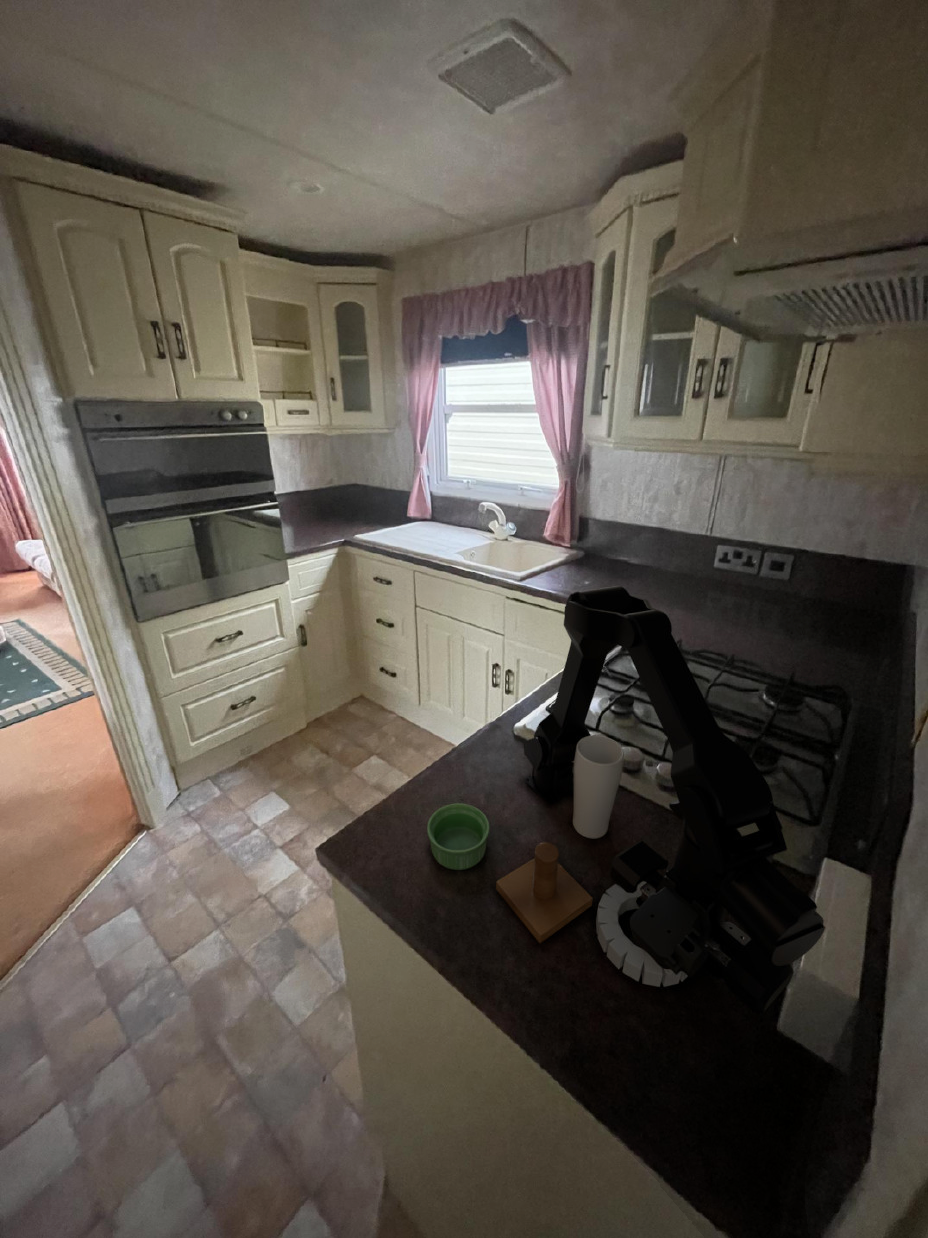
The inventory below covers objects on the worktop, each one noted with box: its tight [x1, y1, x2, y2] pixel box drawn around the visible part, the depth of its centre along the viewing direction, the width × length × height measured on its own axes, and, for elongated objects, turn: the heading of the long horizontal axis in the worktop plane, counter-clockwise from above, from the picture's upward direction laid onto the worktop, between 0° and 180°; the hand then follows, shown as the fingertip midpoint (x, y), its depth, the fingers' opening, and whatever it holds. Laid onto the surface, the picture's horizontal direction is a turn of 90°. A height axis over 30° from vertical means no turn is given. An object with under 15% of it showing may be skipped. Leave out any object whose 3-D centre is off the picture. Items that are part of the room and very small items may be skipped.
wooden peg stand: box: [495, 841, 594, 944], centre depth 67 cm, size 9×9×8 cm
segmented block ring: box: [595, 881, 689, 988], centre depth 63 cm, size 12×12×2 cm
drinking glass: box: [572, 734, 625, 840], centre depth 76 cm, size 7×7×15 cm
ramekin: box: [426, 802, 490, 871], centre depth 75 cm, size 9×9×4 cm
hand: (679, 962), depth 60 cm, fingers open, 3 cm apart
